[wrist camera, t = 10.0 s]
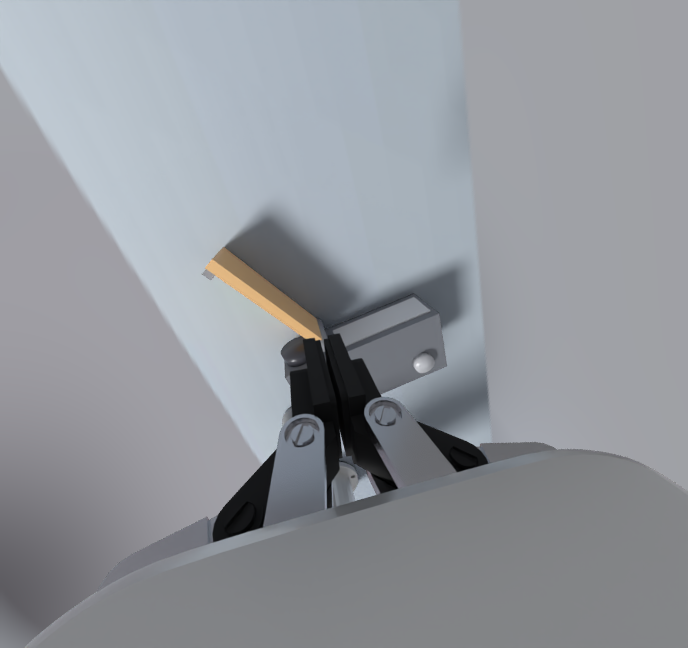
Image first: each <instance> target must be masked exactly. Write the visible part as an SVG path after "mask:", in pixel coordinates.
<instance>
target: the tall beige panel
mask: <svg viewBox="0 0 688 648" xmlns="http://www.w3.org/2000/svg"><path fill="white" fill-rule="evenodd" d="M205 269H206V270H205V271H204V272H203V274H202V275H204V276H205V277H207V278H208V279H210V280H211V279H212V278H213V277H214V276H217V277H218V278H220V279H221V280H223V281H224V282H225V283H227V284H228V285H230V286H231V287H232V288H234V289H235V290H237V291H238V292H240V293H241V294H242V295H244V296H245V297H247V298H248V299H250V300H251V301H252V302H254V303H255V304H257V305H258V306H260V307H261V308H262V309H264V310H265V311H267V312H268V313H270V314H271V315H272V316H274V317H275V318H277V319H278V320H280V321H281V322H282V323H284V324H285V325H287V326H288V327H289V328H291V329H292V330H294V331H295V332H297V333H298V334H299V335H301V336H302V337H304V338H305V339H309V338H314V337H315V341H316V340H320V342H321V345H322V349H323V352H325V348H324V339H327V336H326V333H325V330H324V326H323V323H322V321H321V320H320V319H316V318H315V317H314V316H312V315H311V314H310V313H309V312H307V311H306V310H305V309H303V308H302V307H301V306H299V305H298V304H297V303H296V302H294V301H293V300H292V299H290V298H289V297H288V296H287V295H285V294H284V293H283V292H281V291H280V290H279V289H277V288H276V287H275V286H274V285H272V284H271V283H270V282H268V281H267V280H266V279H265V278H263V277H262V276H261V275H259V274H258V273H257V272H255V271H254V270H253V269H252V268H250V267H249V266H248V265H246V264H245V263H244V262H243V261H241V260H240V259H239V258H237V257H236V256H235V255H233V254H232V253H231V252H230V251H228V250H227V249H226V248H224V247H223V248H222V249H221V250H220V251H219V252H218V253H217V255H216V256H215V257H214V258H213V259H212V260H211V261H210V263H209V264H208V265H207V266H206V268H205Z"/></svg>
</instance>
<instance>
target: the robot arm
mask: <svg viewBox="0 0 688 648" xmlns="http://www.w3.org/2000/svg"><path fill="white" fill-rule="evenodd" d="M303 345H304V351H305V357H306V364H307V368H306V369H300V370H295V371H290V388H291V406H292V418H291V419H289V420H288V421H287V422H286V423H285V424H284V425H283V427H282V428H281V431H280V434H279V439H278V445H277V449H276V450H275V451H274V452H273V454H272V455H271V456H270V457H269V458H268V459H267V460H266V461H265V462H264V463H263V464H262V466H261V467H260V468H259V469H258V470H257V471H256V472H255V473H254V474H253V475H252V476H251V478H250V479H249V480H248V481H247V482H246V483H245V484H244V485H243V486H242V487H241V488H240V490H239V491H238V492H237V493H236V494H235V495H234V496H233V497H232V498H231V500H229V502H228V503H227V504H226V505H225V506H224V507H223V509H222V510H221V511H220V513H219V514H218V515H217V516H216V517H214V518H211V519H210V520H209V519H208V517H205V518H203V519H201V520H199V521H198V522H195V523H193V524H191V525H189V526H187V527H185V528H183V529H181V530H179V531H177V532H175V533H173V534H171V535H169V536H167V537H165V538H163V539H161V540H159V541H157V542H155V543H153V544H151V545H149V546H147V547H145V548H143V549H141V550H139V551H137V552H135V553H133V554H131V555H130V556H128V557H127V558H125V559H124V560H122V561H121V562H119V563H118V564H117V565H116V566H115V567H114V568H113V569H112V570H111V571H110V572H109V573H108V575H107V576H106V577H105V579H104V580H103V582H102V583H101V585H100V586H99V588H98V590H97V593H95V594H93V595H91V596H90V597H88V598H87V599H85V600H84V601H82V602H81V603H79V604H78V605H77V606H75V607H74V608H72V609H71V610H70V611H68V612H67V613H65V614H64V615H63V616H61V617H60V618H59V619H57V620H56V621H55V622H53V623H52V624H51V625H50V626H48V627H47V628H46V629H45V630H44V631H42V632H41V633H40V634H39V635H38V636H36V637H35V638H34V639H33V640H32V641H31V642H30V643H29V644H28V645H27V646H26V647H25V648H688V491H686V490H685V489H683V488H682V487H681V486H679V485H678V484H676V483H675V482H673V481H671V480H670V479H668V478H667V477H665V476H664V475H662V474H660V473H659V472H657V471H655V470H653V469H651V468H650V467H648V466H646V465H644V464H642V463H640V462H637V461H635V460H632V459H630V458H627V457H623V456H619V455H616V454H611V453H606V452H600V451H591V450H583V449H558V450H557V449H555V448H554V447H552V446H549V445H547V444H544V443H537V442H530V443H529V442H524V443H481V444H480V447H476V446H474V445H473V444H471V443H469V442H467V441H464V440H462V439H459V438H457V437H454V436H452V435H450V434H447V433H445V432H442V431H440V430H437V429H435V428H432V427H430V426H427V425H425V424H422V423H420V422H417V421H416V420H415V419H414V418H413V417H412V415H411V414H410V413H409V412H408V410H407V409H406V408H405V407H404V406H403V405H402V404H401V403H400V402H399V401H397V400H395V399H393V398H389V397H381V395H380V393H379V391H378V389H377V387H376V385H375V383H374V381H373V379H372V376H371V374H370V372H369V370H368V368H367V366H366V364H365V362H364V360H363V359H362V358H359V359H353V360H351V359H350V356H349V354H348V352H347V349H346V347H345V345H344V342H343V340H342V337H341V335H340V333H338V334H332V335H328V338H327V339H324V348H325V356H324V353H323V349H322V345H321V342H320V340H316V341H315V337H314V338H309V339H303ZM325 357H326V360H325ZM340 433H341V437H342V441H343V445H344V449H345V453H346V456H351V455H352V459H353V463H354V464H357V465H358V466H360V467H362V468H363V469H365V470H366V472H367V475H368V478H369V480H370V482H371V484H372V486H373V488H374V491H375V493H376V495H375V496H371V497H368V498H364V499H361V500H357V501H355V498H354V493H353V491H354V490H355V489H356V487H357V485H358V475H357V472H356V470H355V468H354V467H353V466H351V465H349V464H347V463H344V462H339V458H342V448H341V439H340ZM332 483H333V485H332ZM333 489H334V494H335V500H336V505H337V506H336V507H333Z"/></svg>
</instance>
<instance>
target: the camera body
mask: <svg viewBox="0 0 688 648" xmlns="http://www.w3.org/2000/svg"><path fill="white" fill-rule="evenodd" d="M325 333H326V336H327V338H328V335H332V334H338V333H340V335H341V337H342V340H343V342H344V345H345V347H346V349H347V352H348V354H349V356H350V359H351V360H353V359H359V358H362V359H363V360H364V362H365V364H366V366H367V368H368V370H369V372H370V374H371V376H372V379H373V381H374V383H375V385H376V387H377V389H378V391H379V393H380V394H382V393H385V392H387V391H390V390H392V389H394V388H397V387H399V386H401V385H404V384H406V383H408V382H411V381H413V380H416V379H418V378H420V377H423V376H425V375H427V374H430V373H432V372H434V371H437V370H439V369H442V368H444V367H446V366H447V363H446V356H445V349H444V343H443V336H442V329H441V322H440V315H439V313H438V312H437V311H435V310H434V309H433V308H432V307H430V306H429V305H428V304H427V303H425V302H424V301H423V300H421V299H420V298H419V297H418V296H416V295H415V294H412V295H410V296H407V297H405V298H402V299H400V300H398V301H395V302H393V303H390V304H388V305H385V306H383V307H380V308H378V309H376V310H373V311H371V312H368V313H366V314H363V315H361V316H359V317H356V318H354V319H351V320H349V321H346V322H344V323H342V324H339V325H337V326H334V327H332V328H329V329H327V330H325ZM303 339H305V338H304V337H298V338H295V339H293V340H291V341H289V342H288V343H287V344H286V345H285V346H284V347H283V348H282V350H281V355H282V357H283V358H284V360H285V378H286V380H287V381H288V383H289V385H290V371H295V370H300V369H306V368H307V364H306V357H305V351H304V345H303ZM323 353H324V356H325V352H323ZM325 360H326V357H325Z"/></svg>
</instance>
